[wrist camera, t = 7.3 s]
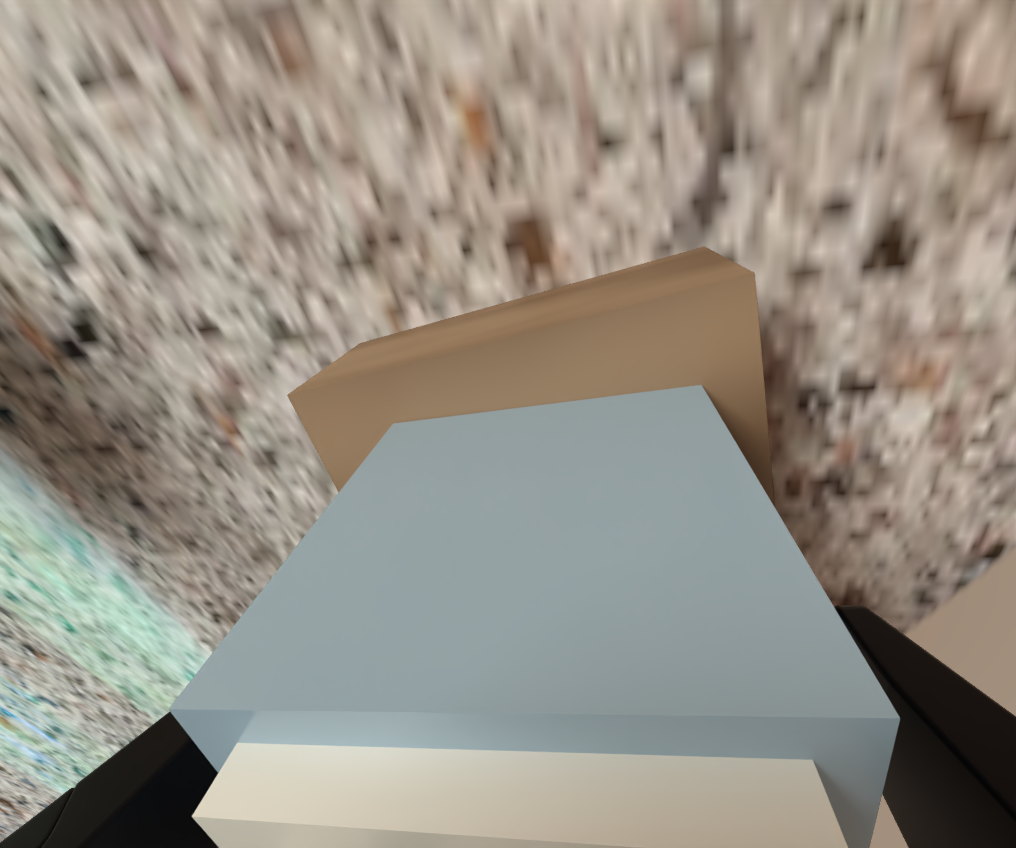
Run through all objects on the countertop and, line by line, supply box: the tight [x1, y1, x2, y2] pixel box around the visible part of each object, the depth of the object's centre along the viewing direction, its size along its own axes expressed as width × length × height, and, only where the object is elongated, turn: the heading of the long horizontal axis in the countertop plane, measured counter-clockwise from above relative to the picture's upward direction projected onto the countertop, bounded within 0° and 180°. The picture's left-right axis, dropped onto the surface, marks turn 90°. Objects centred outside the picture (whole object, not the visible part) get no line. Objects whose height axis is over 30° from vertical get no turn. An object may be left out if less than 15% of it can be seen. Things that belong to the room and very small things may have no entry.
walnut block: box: [288, 247, 775, 507], centre depth 12 cm, size 9×9×4 cm
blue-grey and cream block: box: [169, 385, 900, 848], centre depth 7 cm, size 6×6×7 cm
